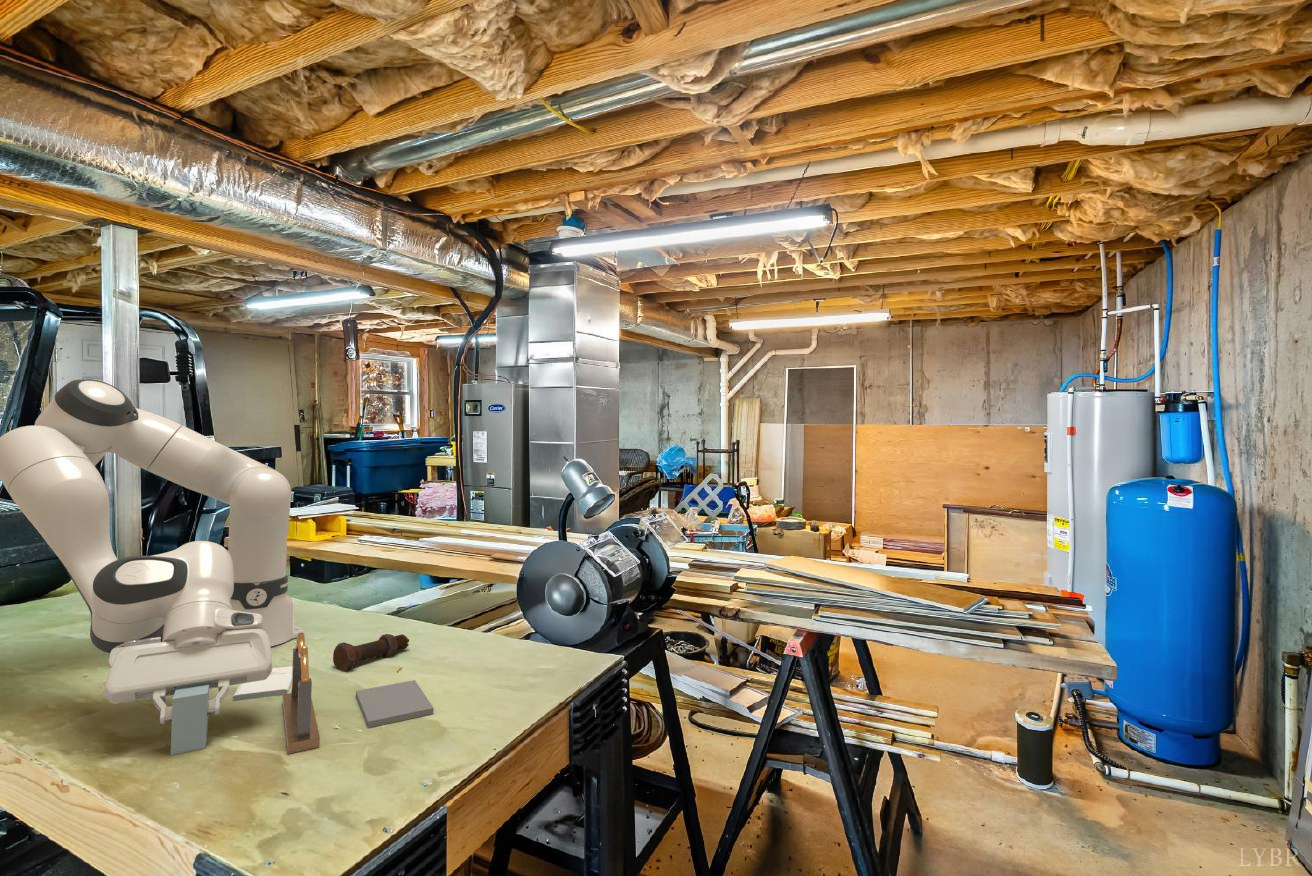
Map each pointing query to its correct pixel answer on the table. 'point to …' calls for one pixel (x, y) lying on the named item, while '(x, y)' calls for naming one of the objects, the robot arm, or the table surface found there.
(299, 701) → the wire frame
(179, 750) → the block
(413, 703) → the pad
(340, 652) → the bolt
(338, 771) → the table surface
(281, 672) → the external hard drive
